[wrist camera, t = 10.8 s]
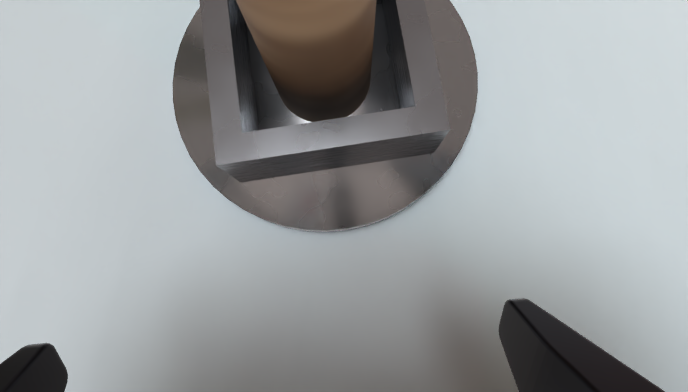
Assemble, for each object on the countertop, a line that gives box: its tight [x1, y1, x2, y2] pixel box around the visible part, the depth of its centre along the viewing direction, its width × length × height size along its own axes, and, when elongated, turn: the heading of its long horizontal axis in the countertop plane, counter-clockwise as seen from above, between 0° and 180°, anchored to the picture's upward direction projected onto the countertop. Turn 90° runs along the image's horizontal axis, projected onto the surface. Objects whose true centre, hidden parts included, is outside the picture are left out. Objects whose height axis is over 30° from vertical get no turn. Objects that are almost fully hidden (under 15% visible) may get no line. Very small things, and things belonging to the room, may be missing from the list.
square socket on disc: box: [173, 0, 478, 232], centre depth 16 cm, size 13×13×4 cm
